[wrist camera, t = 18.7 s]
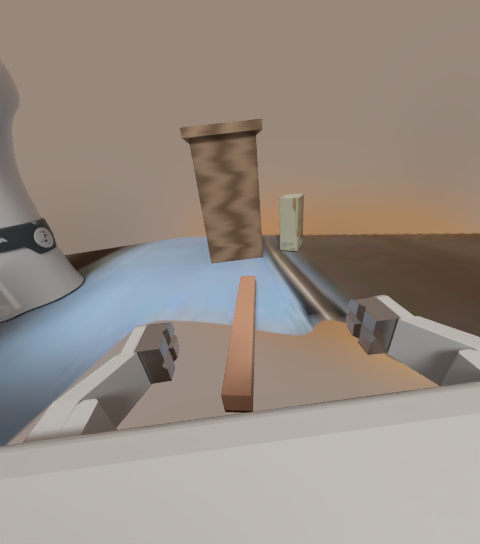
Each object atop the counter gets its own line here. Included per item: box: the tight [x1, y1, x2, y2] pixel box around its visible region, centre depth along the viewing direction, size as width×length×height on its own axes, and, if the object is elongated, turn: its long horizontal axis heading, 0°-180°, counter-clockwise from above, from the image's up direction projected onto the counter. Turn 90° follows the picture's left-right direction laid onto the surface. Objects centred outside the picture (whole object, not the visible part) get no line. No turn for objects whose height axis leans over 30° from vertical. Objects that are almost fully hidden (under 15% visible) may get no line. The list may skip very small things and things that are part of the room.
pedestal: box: [180, 119, 263, 263], centre depth 46 cm, size 14×12×26 cm
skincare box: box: [279, 194, 304, 251], centre depth 49 cm, size 6×4×12 cm
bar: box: [221, 276, 256, 413], centre depth 27 cm, size 2×21×2 cm, turn 175°
